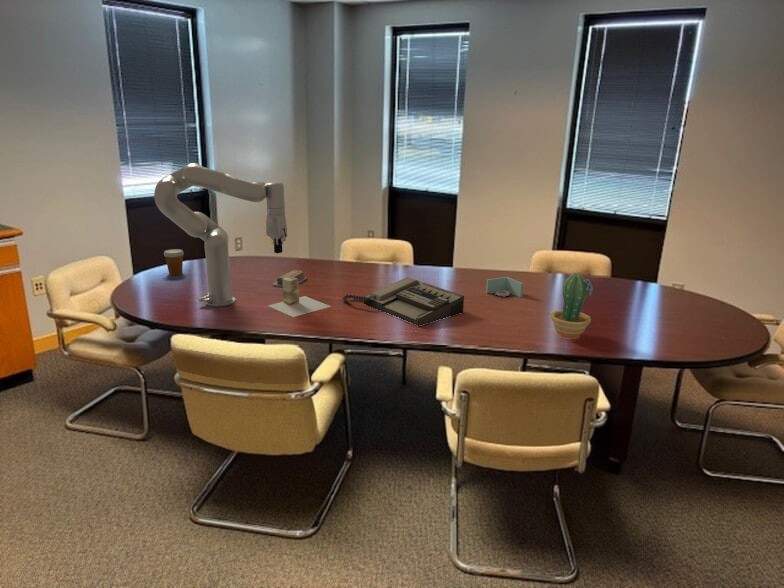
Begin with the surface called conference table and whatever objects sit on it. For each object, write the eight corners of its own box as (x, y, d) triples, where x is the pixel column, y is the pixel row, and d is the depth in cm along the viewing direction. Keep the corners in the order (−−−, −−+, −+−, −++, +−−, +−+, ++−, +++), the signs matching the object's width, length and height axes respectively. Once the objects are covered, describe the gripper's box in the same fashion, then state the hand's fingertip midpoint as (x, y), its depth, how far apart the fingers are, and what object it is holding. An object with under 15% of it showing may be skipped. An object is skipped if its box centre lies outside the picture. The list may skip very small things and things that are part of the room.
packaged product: (289, 268, 286) (307, 270, 283) (290, 277, 288) (307, 279, 285) (271, 277, 270) (289, 279, 267) (272, 287, 272) (290, 289, 269)
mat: (293, 318, 230) (293, 317, 230) (267, 306, 243) (267, 305, 243) (331, 307, 244) (331, 306, 244) (304, 297, 257) (304, 296, 256)
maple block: (289, 305, 244) (288, 281, 241) (283, 302, 247) (282, 278, 244) (299, 302, 247) (298, 279, 244) (292, 300, 251) (291, 276, 247)
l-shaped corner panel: (485, 294, 268) (486, 279, 266) (505, 291, 274) (507, 276, 271) (501, 301, 258) (502, 286, 256) (521, 298, 263) (523, 283, 261)
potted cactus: (572, 346, 209) (580, 282, 201) (539, 333, 221) (546, 272, 213) (597, 337, 217) (606, 276, 210) (564, 325, 229) (571, 266, 221)
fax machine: (336, 303, 252) (336, 282, 249) (394, 289, 273) (394, 270, 270) (404, 332, 219) (404, 309, 217) (462, 314, 241) (464, 293, 238)
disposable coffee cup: (166, 271, 291) (164, 249, 288) (185, 270, 294) (183, 248, 290) (165, 276, 283) (162, 253, 279) (185, 275, 285) (183, 252, 282)
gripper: (259, 210, 244) (261, 251, 249) (278, 214, 234) (280, 257, 239) (273, 208, 249) (276, 248, 254) (293, 212, 239) (295, 254, 244)
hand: (278, 252), depth 247 cm, fingers closed
